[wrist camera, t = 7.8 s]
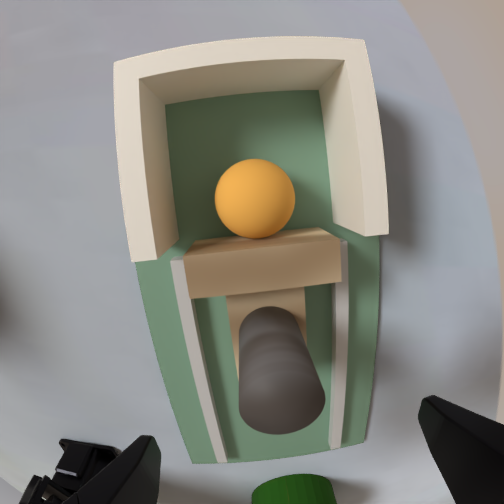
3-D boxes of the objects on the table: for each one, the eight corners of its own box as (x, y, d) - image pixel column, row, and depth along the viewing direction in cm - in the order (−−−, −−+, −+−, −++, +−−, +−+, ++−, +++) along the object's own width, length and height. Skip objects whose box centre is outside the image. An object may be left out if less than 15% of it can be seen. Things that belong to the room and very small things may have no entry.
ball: (293, 143, 14) (284, 169, 18) (206, 151, 13) (215, 177, 17) (306, 228, 13) (293, 238, 17) (214, 238, 13) (222, 245, 17)
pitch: (362, 439, 22) (381, 482, 17) (192, 460, 22) (186, 507, 17) (358, 68, 16) (394, 35, 11) (119, 91, 16) (80, 64, 11)
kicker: (323, 349, 19) (365, 439, 11) (215, 362, 19) (203, 460, 11) (318, 227, 17) (380, 263, 9) (195, 240, 17) (157, 288, 9)
